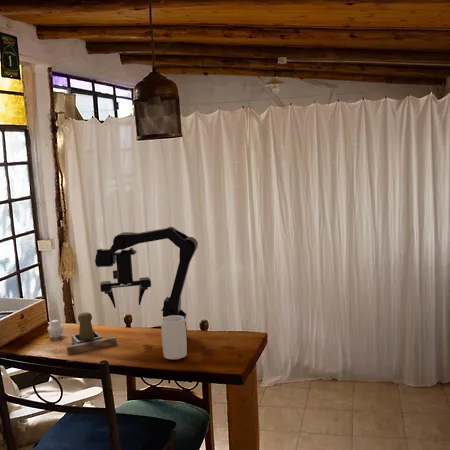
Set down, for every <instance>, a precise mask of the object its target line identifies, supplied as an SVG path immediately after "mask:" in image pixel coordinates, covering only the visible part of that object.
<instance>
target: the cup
mask: <svg viewBox="0 0 450 450" xmlns="http://www.w3.org/2000/svg"><path fill="white" fill-rule="evenodd" d="M185 321H186V318H184V317H183V316H179V315H172V316H167V317H162V318H161V325H160V326H161V327H160V328H161V329H160V330H161V344H162V345H161V346H162V352H163V358H165V359H167V360H180V359H182V358H186V356H187V355H188V353H187V350H188V347H187V346H188V345H187V344H188V343H187V341H188V340H187V338H186V327H187V324H186V325H185Z"/></svg>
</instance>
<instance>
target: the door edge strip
mask: <svg viewBox="0 0 450 450" xmlns="http://www.w3.org/2000/svg"><path fill="white" fill-rule="evenodd" d="M114 345H117V337H116V336H110V337H106V338H105V337H104V338H102V339H99V340H94V341H90V342H85V343H80V344H75V345H74V344H71V345H67V346H66V353H67V355H72V354H77V353H80V352H81V353H82V352H85V351H90V350H96V349H101V348H105V347H108V346H114Z"/></svg>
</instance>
